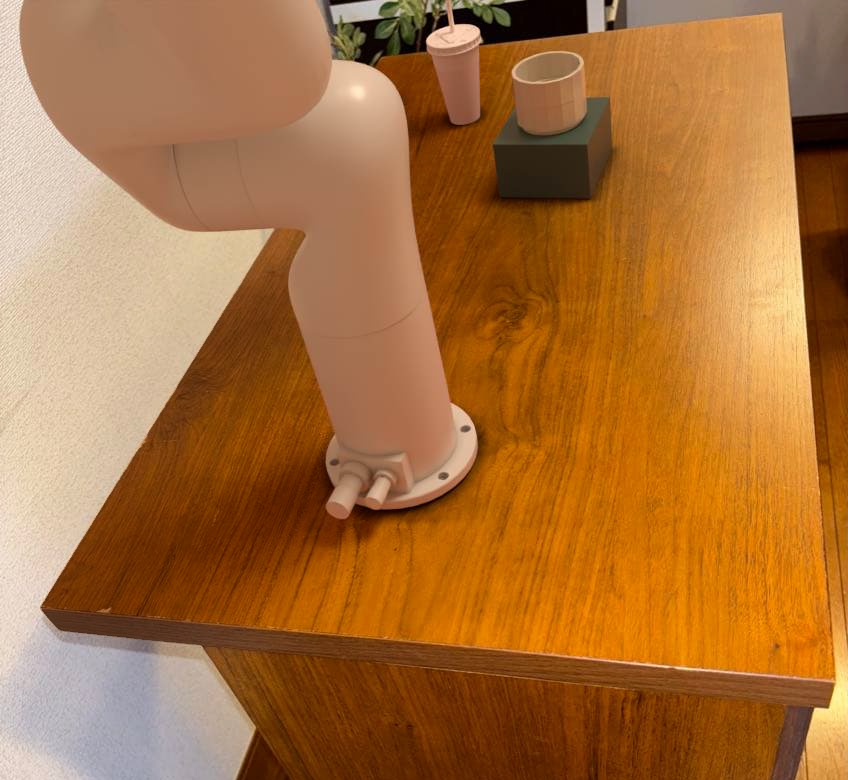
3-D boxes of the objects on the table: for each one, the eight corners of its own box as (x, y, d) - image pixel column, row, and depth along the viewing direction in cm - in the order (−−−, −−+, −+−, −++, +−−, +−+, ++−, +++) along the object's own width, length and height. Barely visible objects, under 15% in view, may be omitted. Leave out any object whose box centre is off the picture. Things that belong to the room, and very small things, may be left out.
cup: (577, 137, 99) (573, 82, 95) (509, 137, 102) (502, 84, 98) (594, 103, 103) (591, 49, 99) (528, 104, 106) (523, 52, 102)
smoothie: (492, 101, 121) (476, -20, 111) (489, 126, 117) (473, 2, 107) (441, 108, 123) (421, -11, 112) (437, 133, 118) (415, 11, 108)
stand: (590, 199, 102) (587, 144, 98) (499, 197, 106) (492, 144, 101) (612, 150, 108) (610, 96, 104) (525, 150, 112) (519, 98, 107)
